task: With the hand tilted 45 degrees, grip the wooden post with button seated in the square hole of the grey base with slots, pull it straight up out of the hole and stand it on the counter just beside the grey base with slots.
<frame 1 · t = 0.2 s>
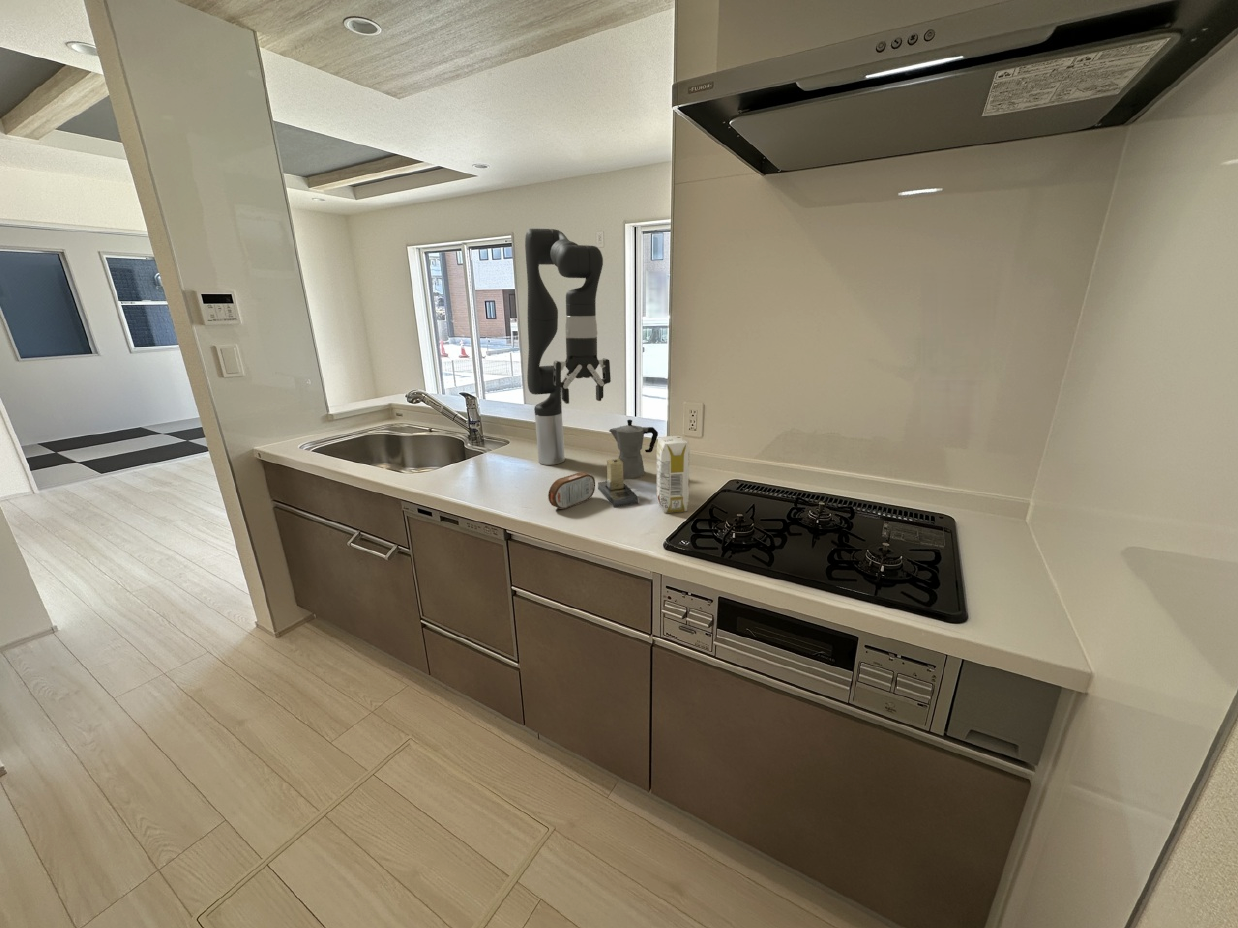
hand: (582, 401, 122), 29 cm above the worktop, tool pointing down, fingers open, 8 cm apart
wooden post with button: (615, 493, 141), resting in grey base with slots
grey base with slots: (617, 495, 139), on the worktop
tin: (573, 505, 134), on the worktop
coffeepot: (633, 474, 157), on the worktop
juice carton: (672, 508, 131), on the worktop
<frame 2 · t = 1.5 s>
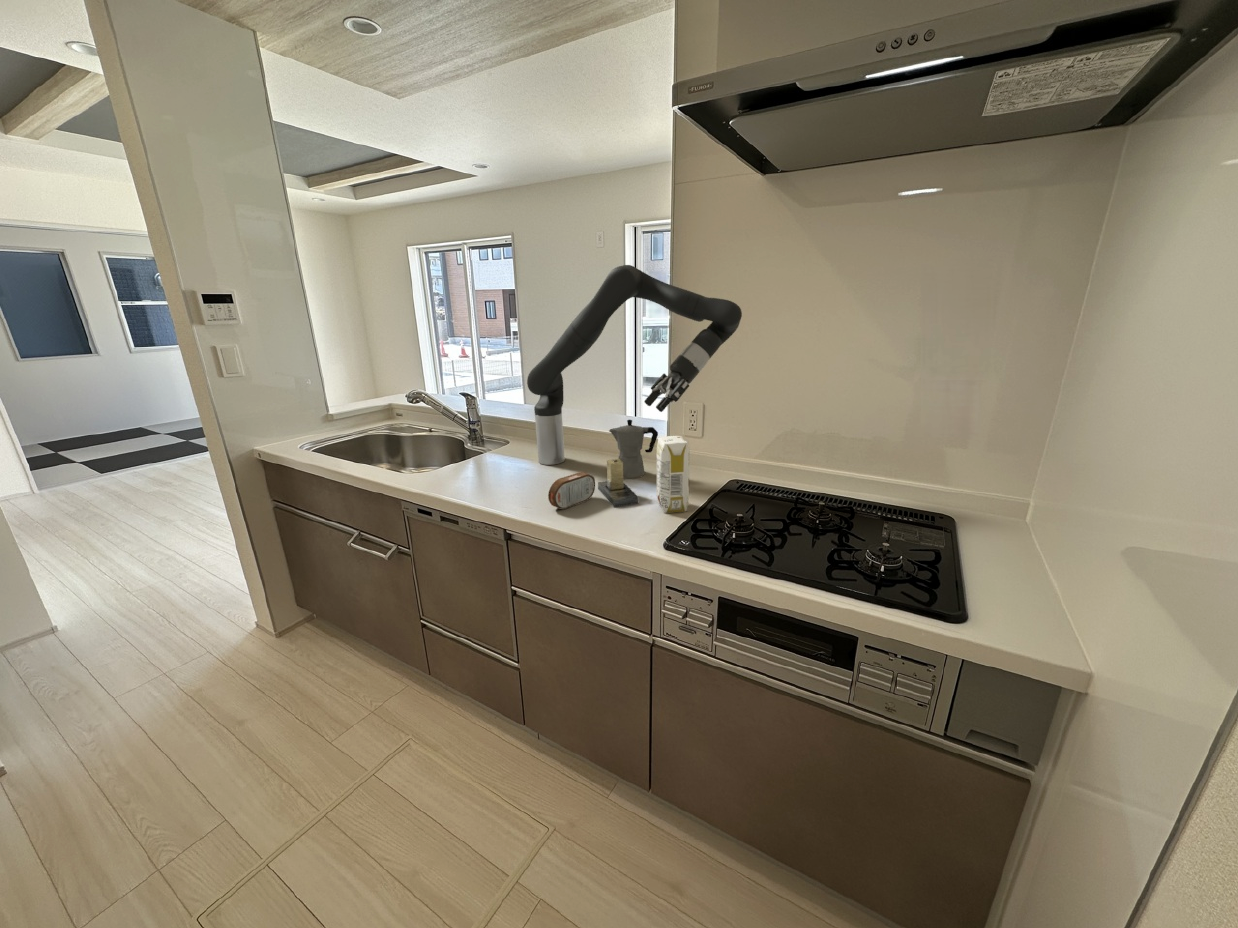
hand: (652, 407, 136), 25 cm above the worktop, tool tilted 45°, fingers open, 8 cm apart
nothing on the worktop moved.
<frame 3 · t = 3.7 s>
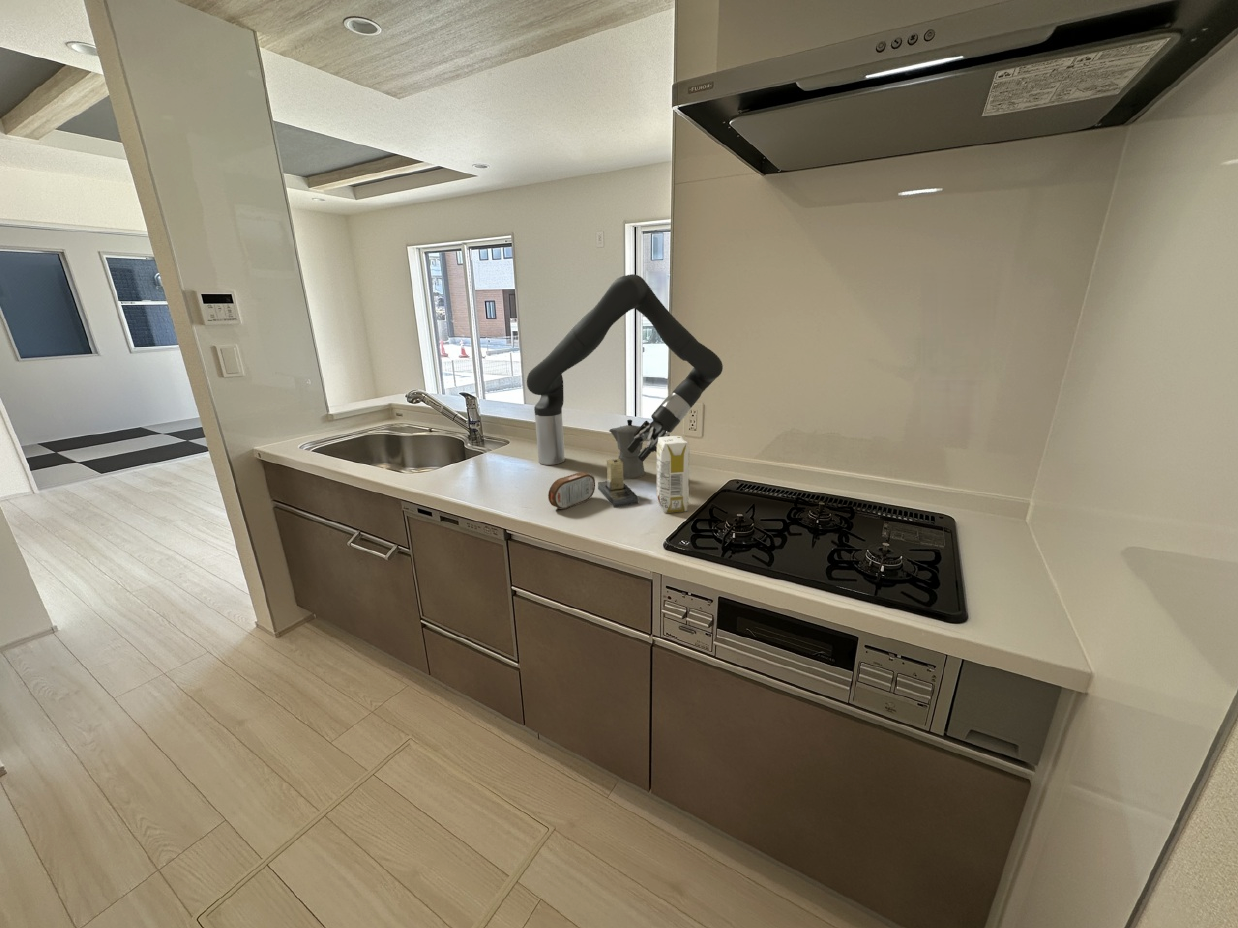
hand: (634, 455, 139), 11 cm above the worktop, tool tilted 45°, fingers open, 8 cm apart
nothing on the worktop moved.
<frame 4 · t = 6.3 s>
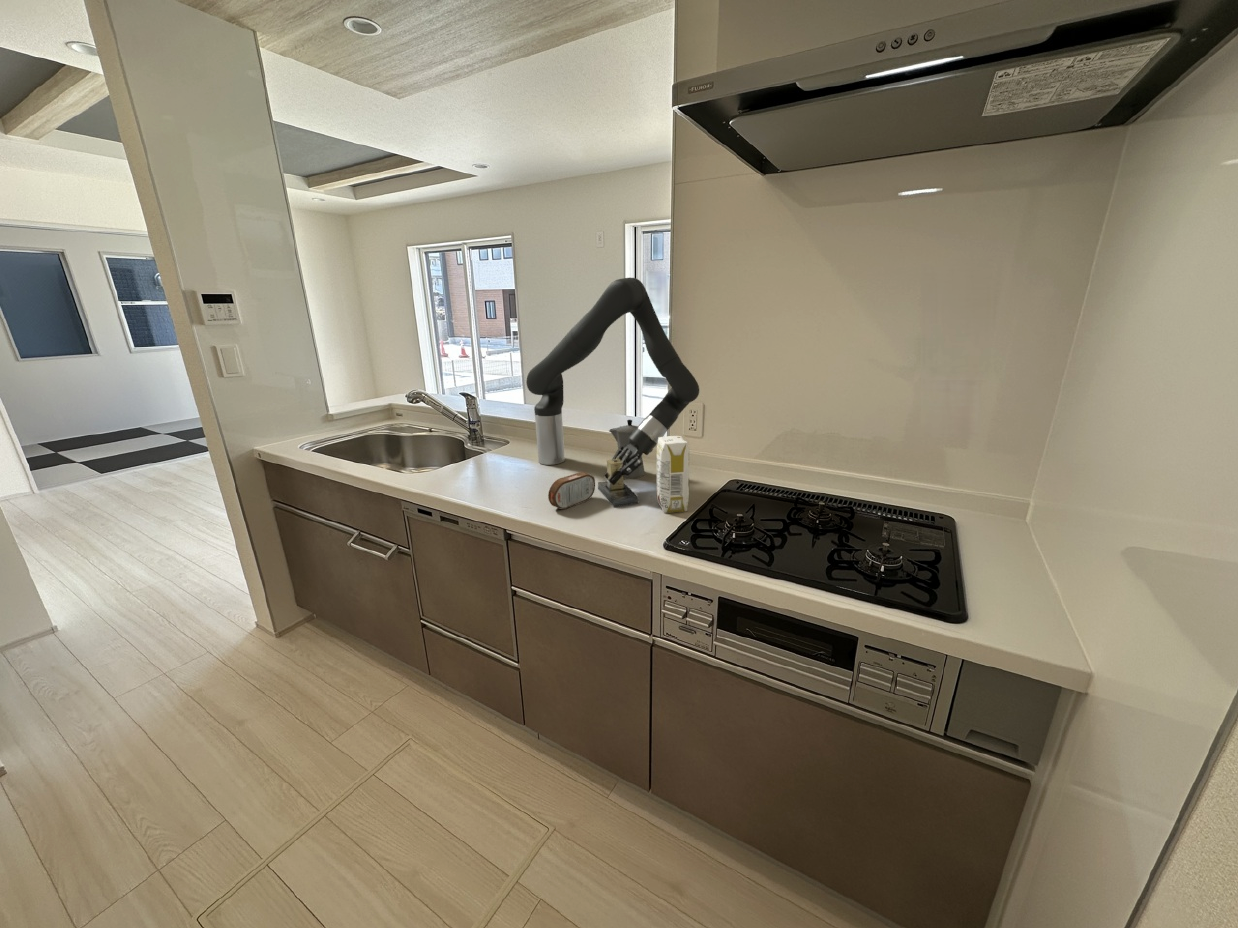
hand: (608, 480, 139), 5 cm above the worktop, tool tilted 45°, fingers closed on wooden post with button, 3 cm apart
wooden post with button: (615, 493, 141), resting in grey base with slots, touching gripper
everything else where it was.
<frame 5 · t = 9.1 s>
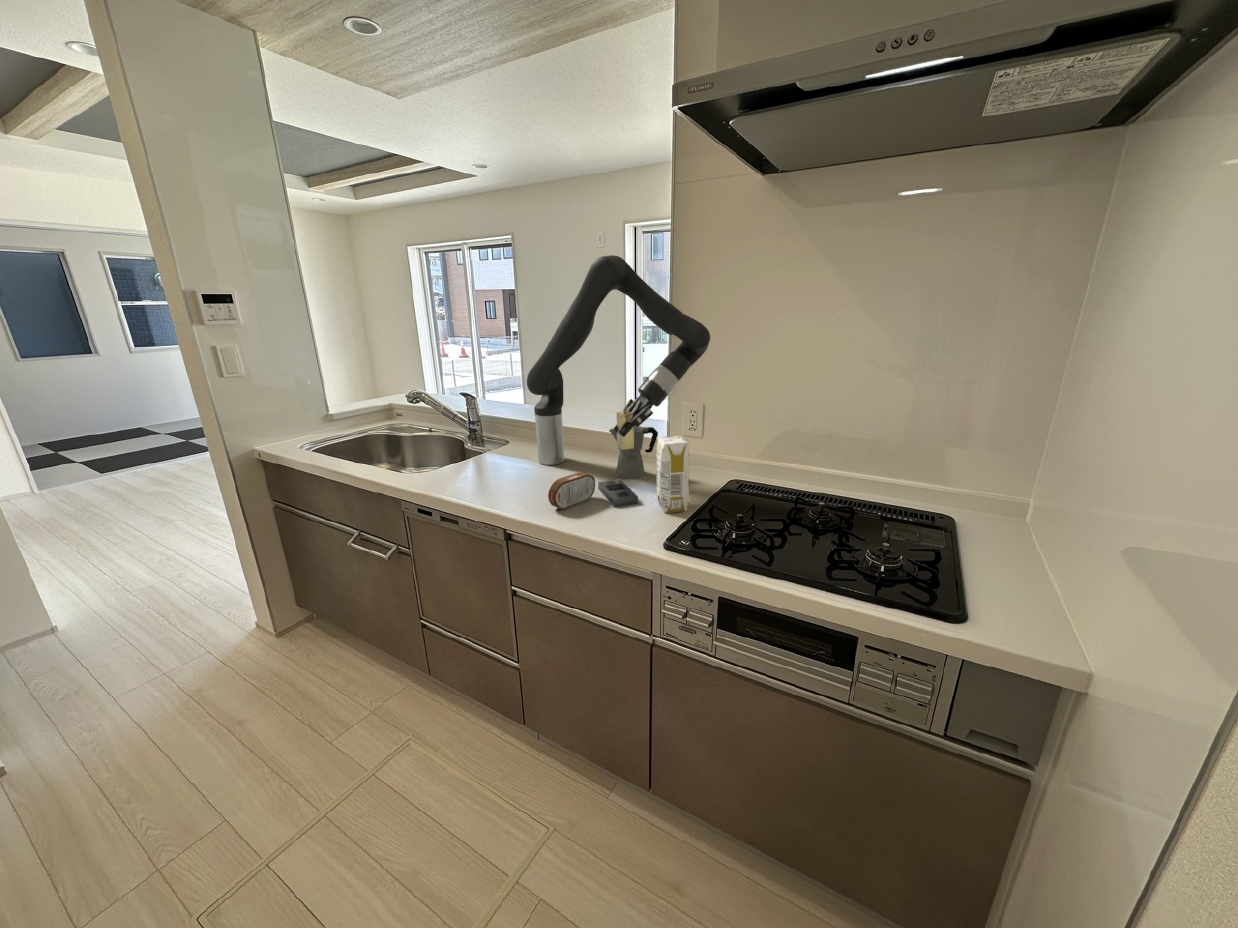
hand: (618, 432, 135), 18 cm above the worktop, tool tilted 45°, fingers closed on wooden post with button, 3 cm apart
wooden post with button: (625, 447, 137), point 14 cm above the worktop, touching gripper
everything else where it was.
when the fingers open (5 cm above the worktop, at t = 12.2 s): wooden post with button stays where it is, on the worktop.
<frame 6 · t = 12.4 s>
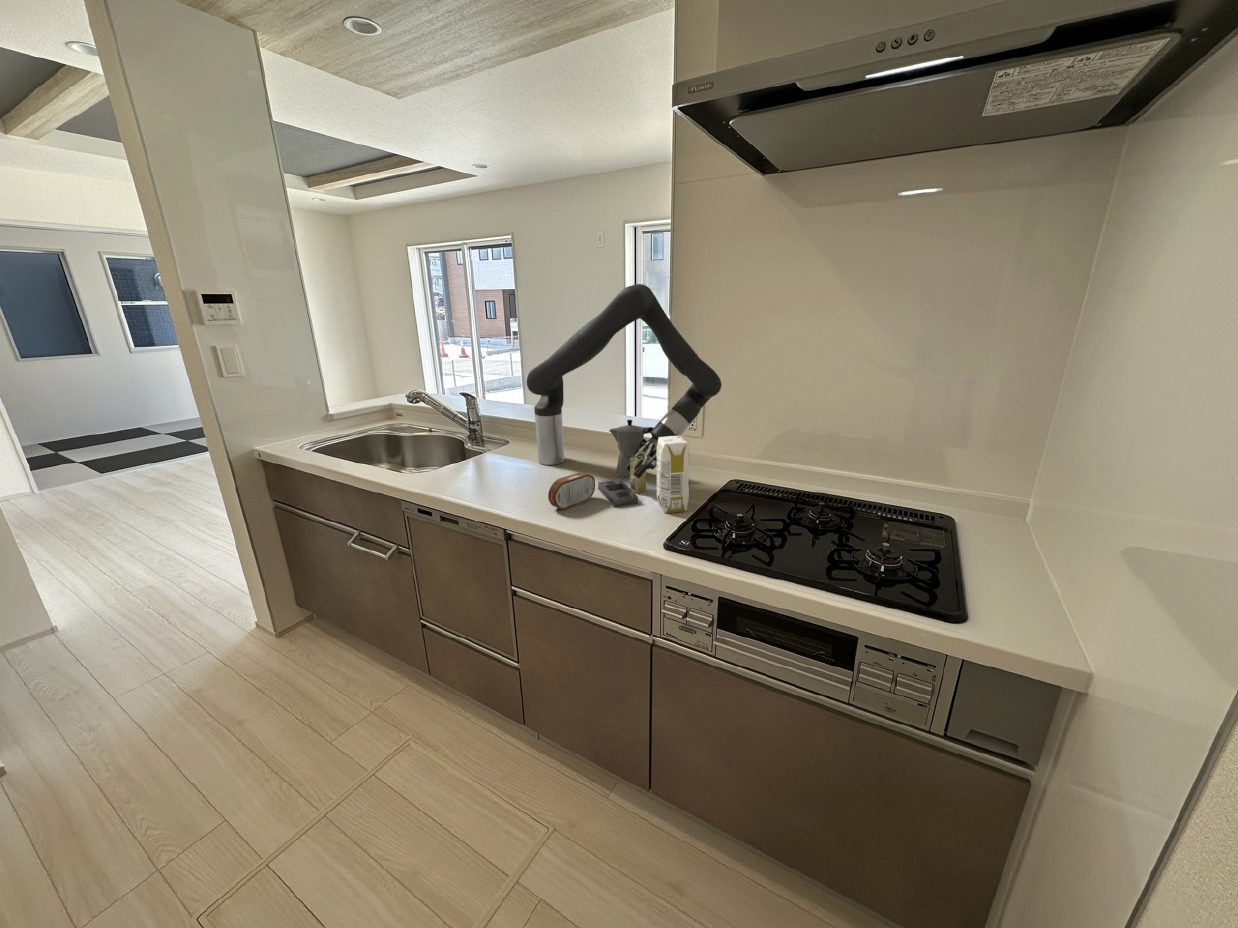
hand: (632, 473, 140), 6 cm above the worktop, tool tilted 45°, fingers open, 5 cm apart
wooden post with button: (638, 490, 143), on the worktop
everything else where it was.
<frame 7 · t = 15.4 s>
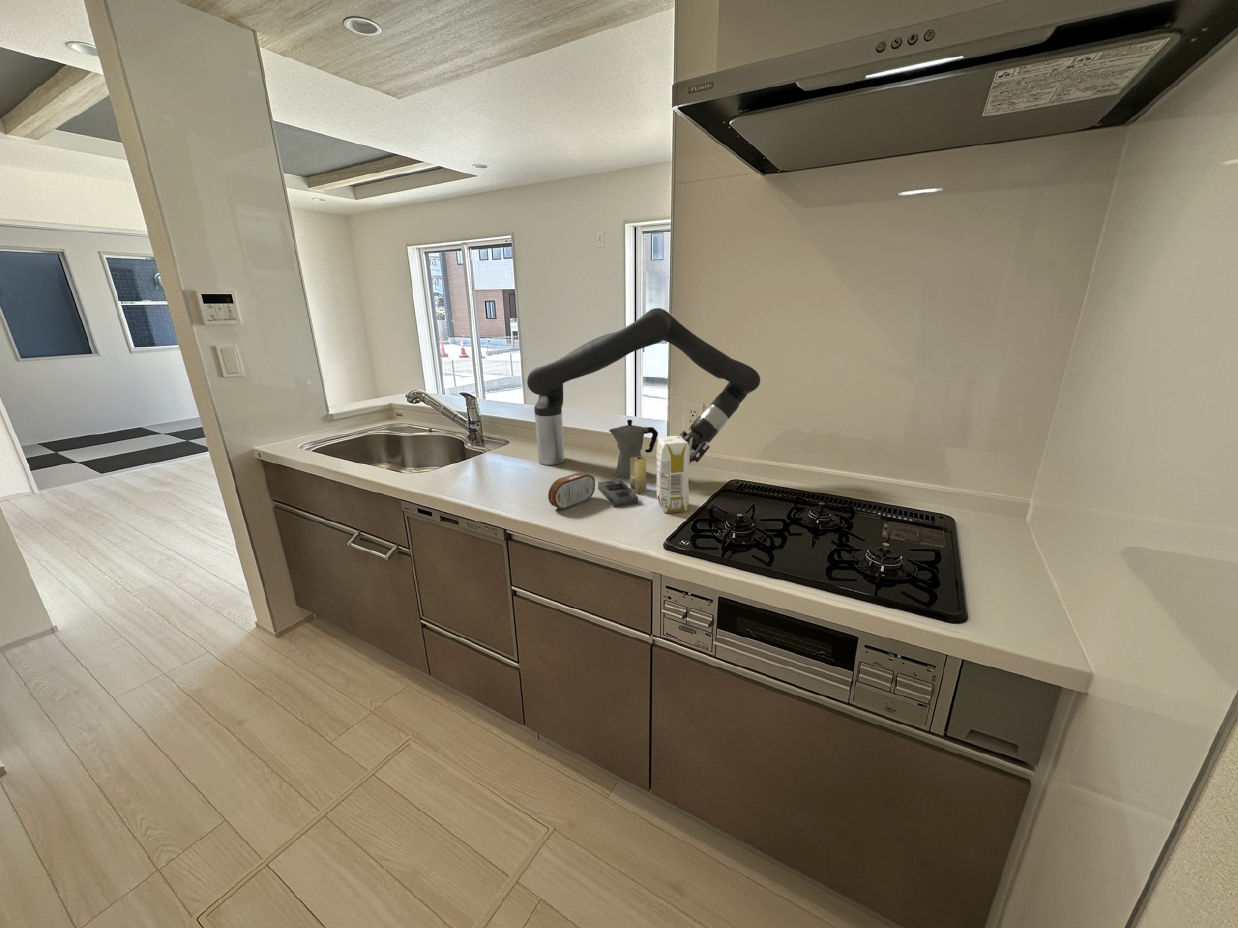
hand: (673, 464, 144), 6 cm above the worktop, tool tilted 45°, fingers open, 8 cm apart
nothing on the worktop moved.
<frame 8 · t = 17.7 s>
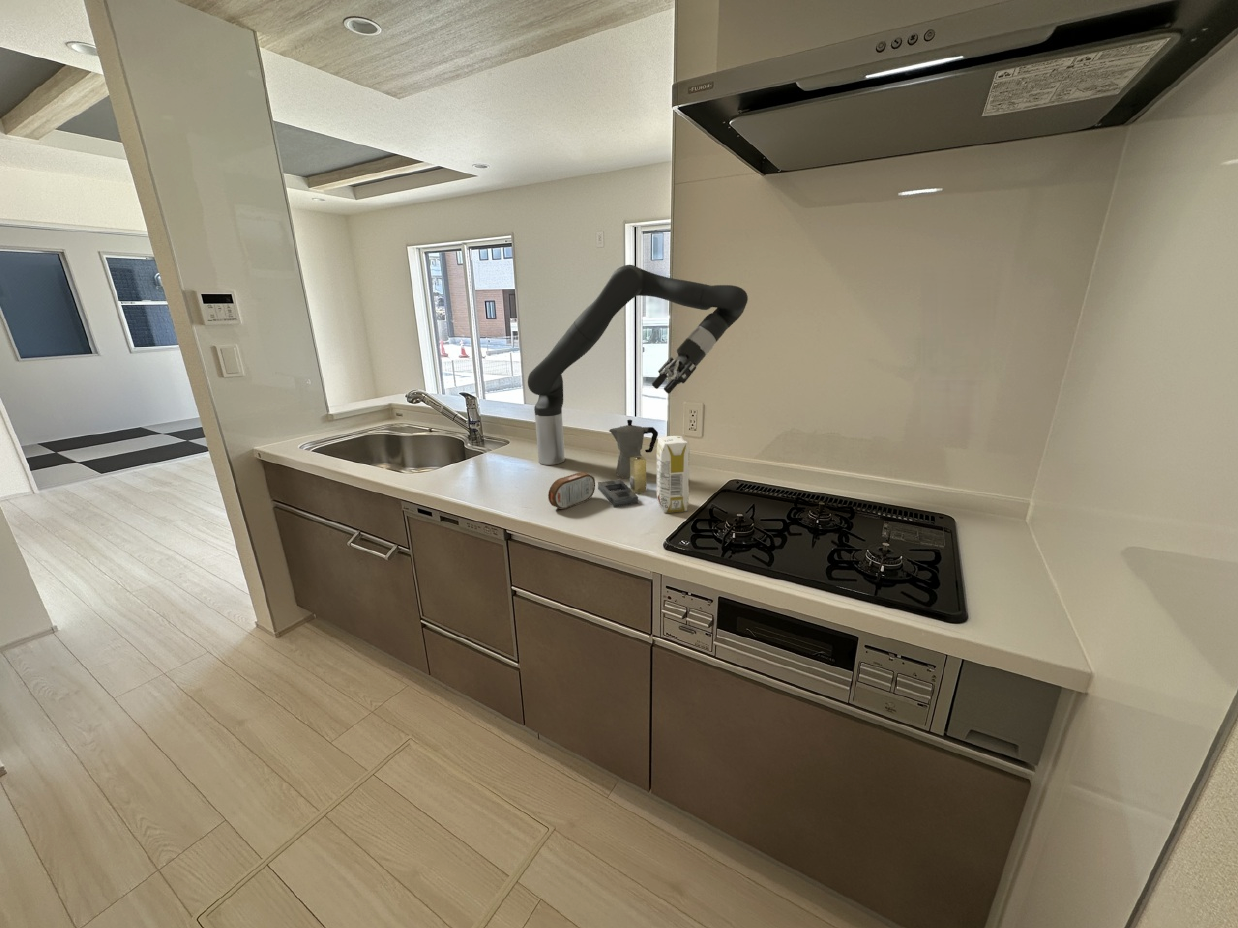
hand: (659, 389, 140), 29 cm above the worktop, tool tilted 45°, fingers open, 8 cm apart
nothing on the worktop moved.
at the end: wooden post with button inside the target area (0.4 cm from its centre), on the worktop; wooden post with button tilted 0°; the gripper is holding nothing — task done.
